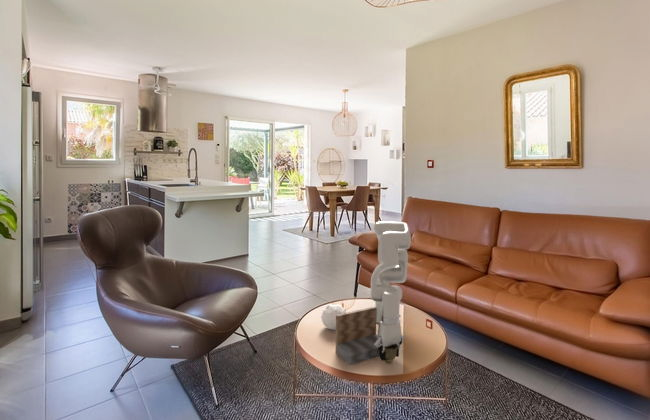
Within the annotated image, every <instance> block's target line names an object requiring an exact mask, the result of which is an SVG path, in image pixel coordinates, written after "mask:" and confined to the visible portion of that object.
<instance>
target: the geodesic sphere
mask: <svg viewBox="0 0 650 420" xmlns="http://www.w3.org/2000/svg"><path fill="white" fill-rule="evenodd" d="M343 313H347V312H346V310H345V309H344V308H343V306H342V305H341V304H337V303H331V304H328V305H326V306H325V307H324V308H323V309H322V312H321V317H320V318H321V322H322V324H323V325H324V327H326V329H328V330H332V331H336V315H338V314H343Z"/></svg>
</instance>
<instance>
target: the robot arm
mask: <svg viewBox="0 0 650 420" xmlns="http://www.w3.org/2000/svg"><path fill="white" fill-rule="evenodd" d="M373 230H374V232H375V236H376V238H377V241H378V244H377V260H378V263H379V264H378V265H377V266H375V268H374V270H373V271H372V274H371V278H370V298H371V300H372V301H373V302H375V305H374V307H377V321H376V324H378V330H377V335H378V337H377V341H376V342H375V344H374V346H375V347H376V348H377V349H378V350H379V357H378V358H379V359H380V360H381V362H386V361H385V352H384V351H385V348H386V347H387V346H390V345H394V344H396V345H397V346H398V349H397V355H396V357H395V358H399V357H400V349H401V345H402V344H403V341H404V340H405V336H404V335H403V334H402V329H401V328H402V326H401V321H400V318H401V314H400V308H401V307H400V306H401V305H400V304H401V303H400V302H401V301H402V298H403V289H402V287H401V286H399V285H391V283H395V284H403V283H405V282H406V281H407V278H408V265H409V264H408V263H409V255H408V254H409V253H408V250H409V249H410V247H411V244H412V235H411V231H410V230H411V229H410V226H409V224H408V223H407V222H404V221H386V220H385V221H381V220H380V221H376V222H375V223H374V225H373ZM379 344H380V346H379ZM382 346H383V348H382Z"/></svg>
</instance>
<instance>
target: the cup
mask: <svg viewBox="0 0 650 420" xmlns="http://www.w3.org/2000/svg"><path fill="white" fill-rule="evenodd" d="M382 348H383V346H382ZM397 349H398V346H397V345H396V344H394V345H390V346H387V347H386V348H385V351H384V352H385V361H384V362H385V363H388V364H390V363H393V361H394V359H396V358H397V357H396V355H397Z"/></svg>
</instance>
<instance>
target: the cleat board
mask: <svg viewBox="0 0 650 420" xmlns="http://www.w3.org/2000/svg"><path fill="white" fill-rule="evenodd" d="M376 321H377V307H375V306H371V307H368V308H367V307H366V308H363V309H357V310H352V311H348V312H346V313H343V314H338V315H336V330H335V350H334V351H335V352H334V353H335V354H336V355H338V356H339V357H340V358H341V359H342V360H343V361H345V363H346V364H348V365H349V366H353V365H356V364H360V363H363V362H365V361H369V360H374V359H375V358H379V350H378V349H377V348H376V347H375V346H374V344H375V342H376V341H377V337H378V334H377V323H376ZM379 346H380V344H379Z"/></svg>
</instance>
